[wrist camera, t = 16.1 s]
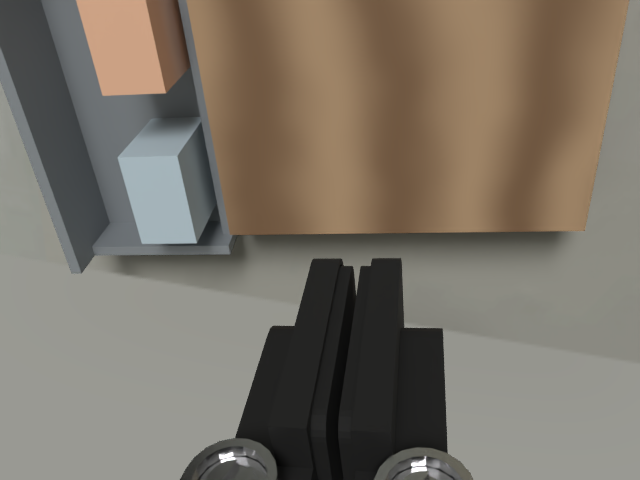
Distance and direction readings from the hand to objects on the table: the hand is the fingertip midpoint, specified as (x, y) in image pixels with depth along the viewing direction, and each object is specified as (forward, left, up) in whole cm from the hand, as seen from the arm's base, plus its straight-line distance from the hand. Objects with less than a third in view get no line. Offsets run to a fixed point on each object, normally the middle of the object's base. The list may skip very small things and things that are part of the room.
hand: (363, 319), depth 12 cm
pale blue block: (+10, +6, -19) cm, 22 cm away
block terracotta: (+10, -2, -19) cm, 21 cm away
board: (-1, +2, -22) cm, 22 cm away
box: (+13, +2, -22) cm, 26 cm away
